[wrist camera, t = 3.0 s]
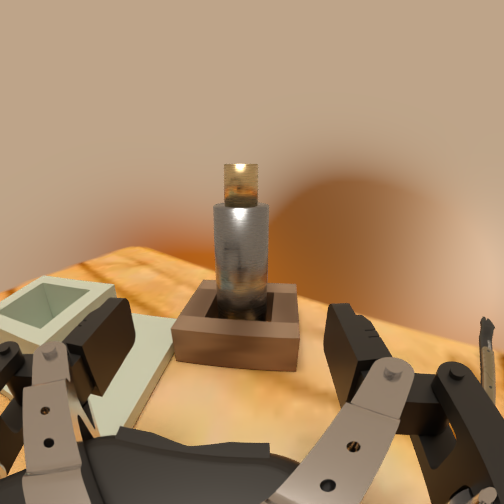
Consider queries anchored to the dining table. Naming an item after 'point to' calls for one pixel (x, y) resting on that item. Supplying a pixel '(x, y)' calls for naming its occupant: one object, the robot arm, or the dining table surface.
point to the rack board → (69, 316)
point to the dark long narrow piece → (487, 358)
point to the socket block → (239, 332)
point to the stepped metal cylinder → (241, 246)
